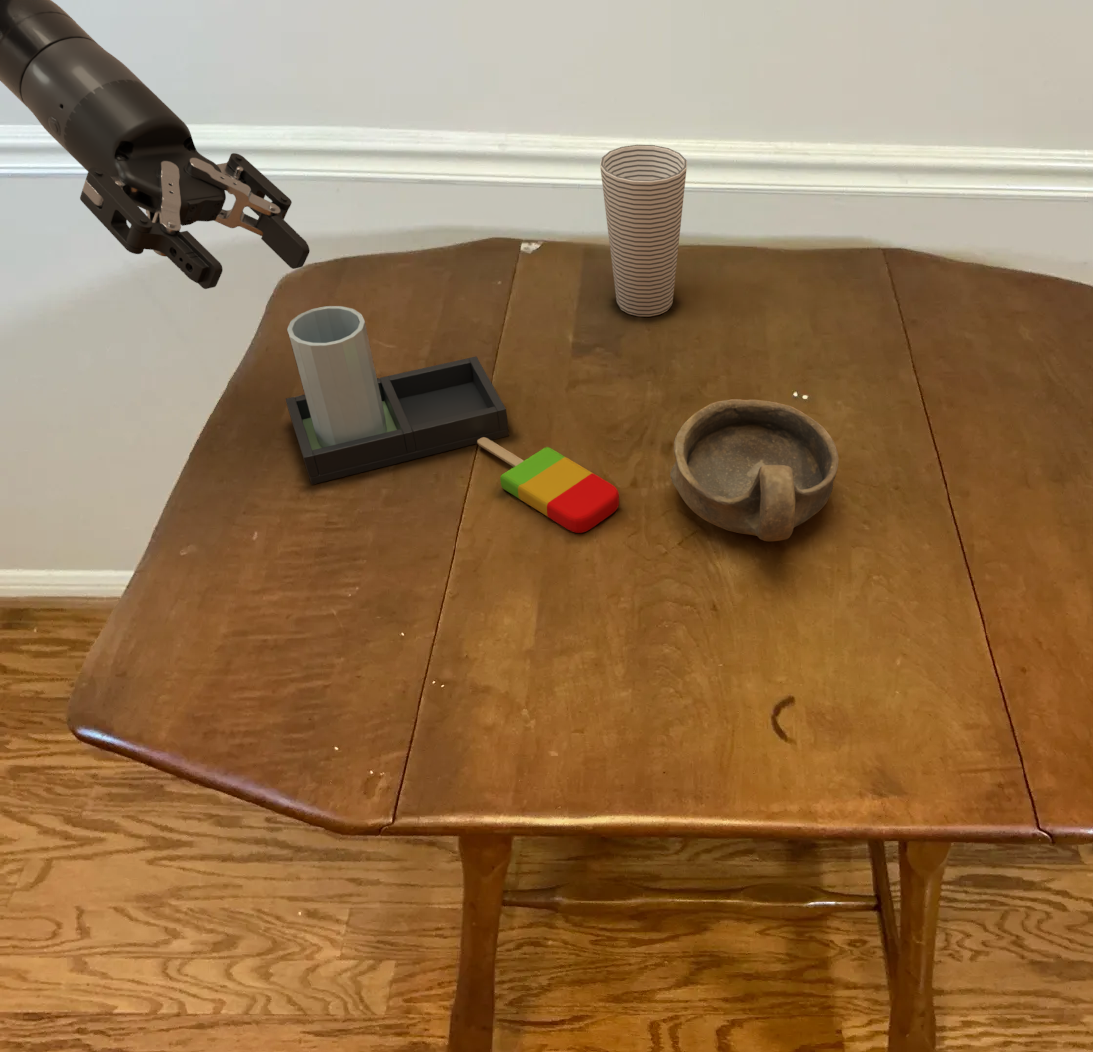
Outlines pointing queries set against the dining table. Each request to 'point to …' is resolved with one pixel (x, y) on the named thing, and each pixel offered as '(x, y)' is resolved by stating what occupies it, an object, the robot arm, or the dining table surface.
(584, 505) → the popsicle
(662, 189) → the cup
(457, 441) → the tray
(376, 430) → the tumbler
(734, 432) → the bowl
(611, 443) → the dining table surface
